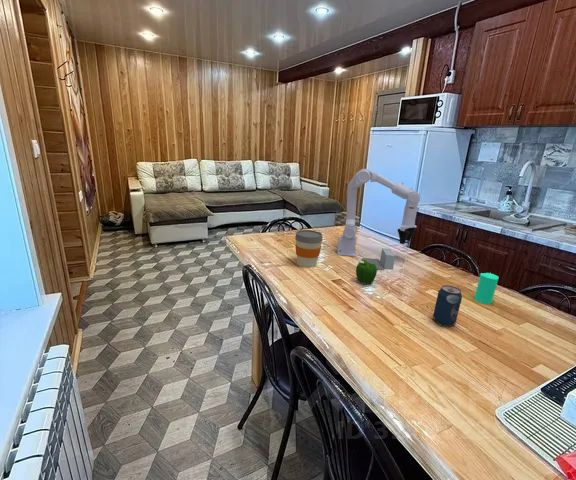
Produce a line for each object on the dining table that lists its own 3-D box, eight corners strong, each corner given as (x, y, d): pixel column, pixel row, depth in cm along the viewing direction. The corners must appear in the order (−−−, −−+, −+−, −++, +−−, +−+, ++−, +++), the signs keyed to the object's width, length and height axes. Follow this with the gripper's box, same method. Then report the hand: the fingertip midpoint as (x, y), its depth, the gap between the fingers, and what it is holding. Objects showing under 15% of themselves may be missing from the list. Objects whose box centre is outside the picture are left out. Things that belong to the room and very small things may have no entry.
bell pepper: (378, 282, 132) (382, 260, 129) (369, 288, 126) (372, 265, 123) (361, 276, 137) (364, 254, 134) (351, 281, 131) (354, 259, 128)
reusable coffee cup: (289, 265, 144) (291, 234, 139) (298, 257, 155) (300, 228, 150) (315, 271, 139) (318, 239, 135) (323, 262, 151) (326, 232, 146)
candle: (489, 298, 123) (497, 270, 119) (493, 305, 117) (502, 276, 114) (472, 295, 124) (479, 267, 121) (475, 302, 119) (483, 273, 115)
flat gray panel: (366, 268, 145) (366, 268, 145) (362, 258, 159) (362, 257, 159) (384, 270, 145) (384, 269, 145) (378, 259, 158) (378, 259, 158)
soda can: (454, 330, 100) (462, 296, 96) (430, 322, 103) (438, 289, 99) (456, 320, 105) (464, 288, 102) (434, 313, 109) (440, 282, 105)
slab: (384, 269, 147) (386, 255, 145) (380, 261, 156) (382, 248, 154) (392, 269, 146) (395, 255, 144) (388, 262, 156) (390, 248, 154)
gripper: (412, 219, 143) (407, 247, 148) (422, 215, 154) (417, 241, 158) (397, 216, 148) (393, 243, 152) (408, 212, 158) (404, 238, 163)
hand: (404, 242), depth 155 cm, fingers open, 7 cm apart
